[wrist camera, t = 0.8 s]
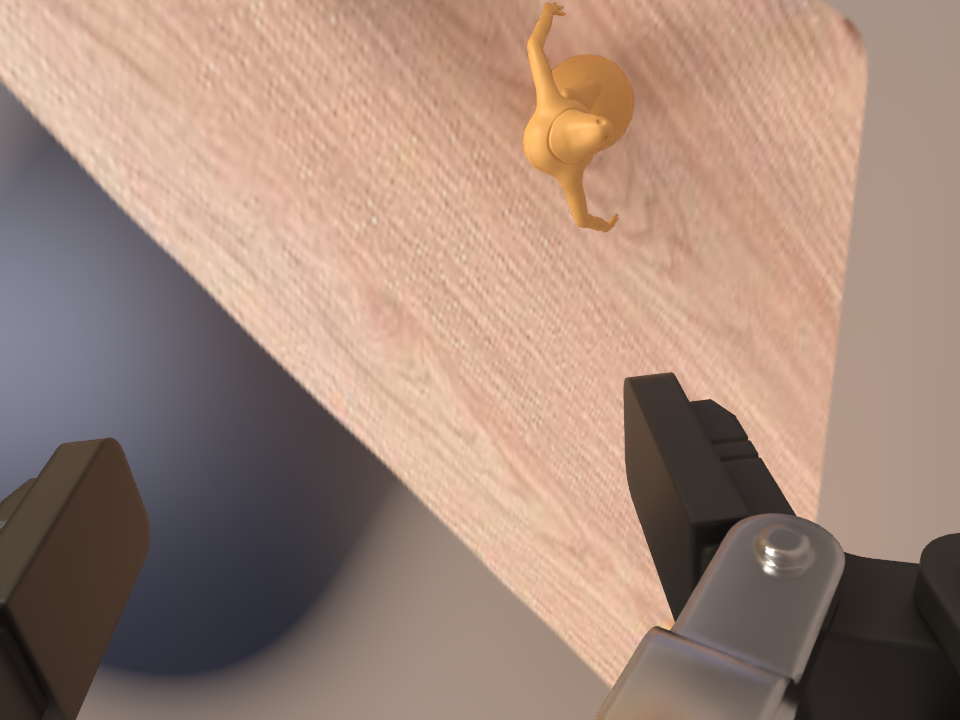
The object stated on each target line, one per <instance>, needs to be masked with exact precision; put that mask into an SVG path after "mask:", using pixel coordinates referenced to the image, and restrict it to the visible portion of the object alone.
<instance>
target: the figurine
mask: <svg viewBox="0 0 960 720" xmlns="http://www.w3.org/2000/svg"><path fill="white" fill-rule="evenodd" d="M556 5H557V3H552V4H550V3H546V4H545V5H544V7H543V14H542V16H541V17H540V18H539V20H538V22H537V25H536V27H535V29H534V32H533V34H532V35H531V37H530V38H529V41H528V45H527V50H528V57H529V62H530V67H531V71H532V75H533V80H534V83H535V87H536V93H537V108H536V111H535V113H534V115H533V116H532V118H531V119H530V121H529V124H528V125H527V127H526V129H525V132H524V136H523V148H524V152H525V155H526V157H527V159H528V160H529V162H530V163H531V164H532V165H533V166H534V167H535V168H537V169H538V170H541V171H542V172H544V173H547V174H550V175H552V176H554V177H555V178H556V179H557V180H558V181H559V183H560V185H561V186H562V188H563V189H564V191H565V194H566V198H567V201H568V204H569V207H570V210H571V213H572V215H573V218H574V220H575V222H576V224H577V225H578V226H579V227H581V228H590V229H594V230H597V231H603V232H608V231H609V230H611V229H612V227H614V225H615V223H616V222H617V220H618V217H617V216H618V214H616V215H615V216H614V217H613V218H612V219H611V220H610V221H609V222H606V221H604V220H603V219H602V218H599V217H595V216H592V215H590V214H588V211H587V204H586V198H585V193H584V190H583V186H582V177H583V172H584V170H585V168H586V166H587V165H588V164H589V163H590V161H591V160H592V158H593V155H594V154H595V153H597V152H599V151H601V150H604V149H606V148H608V147H609V146H611V145H612V144H614V143H615V142H616V141H617V140H618V139H619V138H620V137H621V136H622V135H623V133H624V132H625V131H626V129H627V127H628V125H629V123H630V121H631V118H632V114H633V108H634V97H633V91H632V87H631V84H630V82H629V80H628V78H627V76H626V75H625V73H624V72H623V71H622V70H621V69H620V68H619V67H618V66H617V65H616V64H615V63H613V62H612V61H610V60H608V59H606V58H603V57H600V56H596V55H580V56H575V57H572V58H570V59H567V60H566V61H564V62H562V63H561V64H559V65H558V66H557V67H556V68H555V69H554V70H553V71H552V72H551V69H550V66H549V63H548V60H547V58H546V55H545V53H544V50H543V47H544V44H545V39H546V36H547V34H548V33H549V31H550V28H551V24H552V18H553V15H559V16H564V15H566V14H565V13H563V12H560V11H559V10H561V9H563V8H564V7H563V6H556ZM616 217H617V218H616Z"/></svg>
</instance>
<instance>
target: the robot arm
mask: <svg viewBox="0 0 960 720" xmlns="http://www.w3.org/2000/svg"><path fill="white" fill-rule="evenodd" d="M624 430H625V463H626V473H627V480H628V485H629V490H630V494H631V497H632V501H633V503H634V506H635V509H636V512H637V515H638V518H639V521H640V523H641V526H642V529H643V532H644V535H645V538H646V541H647V544H648V546H649V549H650V552H651V555H652V558H653V561H654V564H655V566H656V569H657V572H658V575H659V578H660V581H661V584H662V586H663V589H664V592H665V595H666V598H667V601H668V604H669V606H670V609H671V612H672V615H673V618H674V621H675V624H674V626H673V627H672V628H671V630H670V631H669V630H666V629H664V628H661V627H659V626H655V627H653V628H652V629H650V630H649V631H648V633H647V634H646V635H645V636H644V638H643V639H642V641H641V642H640V644H639V646H638V647H637V649H636V651H635V652H634V654H633V656H632V657H631V659H630V660H629V662H628V664H627V665H626V667H625V669H624V670H623V672H622V674H621V675H620V677H619V678H618V680H617V682H616V683H615V685H614V687H613V688H612V690H611V692H610V693H609V695H608V697H607V698H606V700H605V701H604V703H603V705H602V707H601V708H600V710H599V712H598V713H597V715H596V716H595V718H594V720H960V533H956V534H949V535H945V536H942V537H939V538H937V539H935V540H933V541H931V542H930V543H929V544H928V545H927V546H926V547H925V548H924V550H923V551H922V554H921V558H920V563H919V564H916V563H907V562H898V561H889V560H881V559H872V558H866V557H860V556H856V555H852V554H849V553H846V552H843V549H842V547H841V545H840V543H839V542H838V541H837V540H836V538H835V537H834V536H833V535H832V534H831V533H829V532H828V531H827V530H826V529H824V528H822V527H821V526H819V525H818V524H816V523H814V522H811V521H809V520H806V519H804V518H801V517H797V516H796V514H795V513H794V511H793V510H792V508H791V506H790V505H789V503H788V501H787V500H786V498H785V496H784V495H783V493H782V492H781V490H780V488H779V487H778V485H777V483H776V482H775V480H774V478H773V477H772V475H771V474H770V472H769V470H768V469H767V467H766V465H765V464H764V462H763V460H762V459H761V458H759V457H758V452H757V451H756V449H755V447H754V446H753V444H752V442H751V441H748V436H747V434H746V433H745V431H744V429H743V428H742V426H741V424H740V423H739V421H738V420H737V418H736V416H735V415H733V414H732V413H730V412H729V411H727V410H726V409H724V408H723V407H722V406H720V405H719V404H717V403H716V402H714V401H713V400H711V399H709V400H700V401H692V402H689V400H688V398H687V397H686V395H685V393H684V391H683V389H682V387H681V385H680V384H679V382H678V380H677V378H676V376H675V375H674V373H672V372H670V373H662V374H653V375H645V376H636V377H628V378H625V381H624ZM149 545H150V524H149V519H148V515H147V512H146V509H145V507H144V504H143V501H142V499H141V496H140V494H139V491H138V488H137V486H136V483H135V481H134V478H133V475H132V473H131V470H130V467H129V465H128V462H127V459H126V457H125V454H124V452H123V449H122V447H121V446H120V444H119V443H118V441H116V440H115V439H113V438H105V439H96V440H88V441H79V442H71V443H64V444H62V445H60V446H59V447H58V448H57V449H56V451H55V452H54V454H53V455H52V456H51V458H50V459H49V461H48V462H47V464H46V465H45V467H44V468H43V470H42V471H41V473H40V474H39V475H38V477H37V478H33V479H29V480H28V481H27V482H26V483H24V484H23V485H22V486H21V487H19V488H18V489H17V490H15V491H14V492H13V493H12V494H10V495H9V496H8V497H7V498H5V499H4V500H3V501H2V502H1V503H0V720H76V718H77V715H78V713H79V711H80V708H81V706H82V704H83V701H84V699H85V697H86V695H87V692H88V690H89V688H90V685H91V683H92V681H93V678H94V676H95V674H96V671H97V669H98V667H99V665H100V662H101V660H102V658H103V655H104V653H105V651H106V649H107V646H108V644H109V641H110V639H111V637H112V635H113V632H114V630H115V628H116V625H117V623H118V621H119V619H120V616H121V614H122V611H123V609H124V607H125V605H126V602H127V600H128V598H129V595H130V593H131V591H132V589H133V586H134V584H135V582H136V579H137V577H138V575H139V572H140V570H141V568H142V566H143V563H144V561H145V559H146V556H147V554H148V550H149Z"/></svg>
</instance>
